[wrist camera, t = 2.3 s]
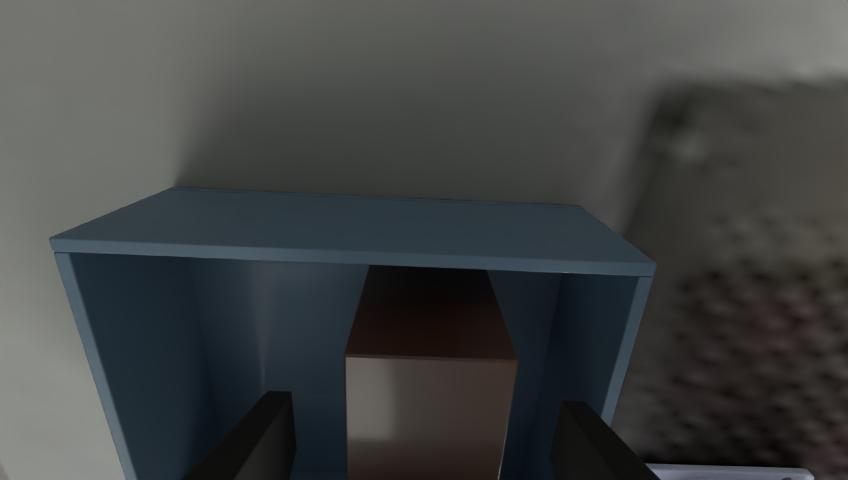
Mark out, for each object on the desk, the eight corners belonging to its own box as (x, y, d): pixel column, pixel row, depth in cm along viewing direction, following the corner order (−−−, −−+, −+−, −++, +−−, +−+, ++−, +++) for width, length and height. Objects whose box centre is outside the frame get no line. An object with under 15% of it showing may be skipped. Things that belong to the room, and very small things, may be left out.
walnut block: (483, 257, 16) (519, 361, 10) (472, 348, 17) (499, 485, 11) (372, 252, 16) (342, 355, 10) (372, 344, 17) (346, 480, 11)
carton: (581, 205, 15) (658, 263, 10) (526, 475, 21) (560, 598, 16) (171, 186, 15) (47, 237, 10) (224, 466, 21) (160, 589, 15)
